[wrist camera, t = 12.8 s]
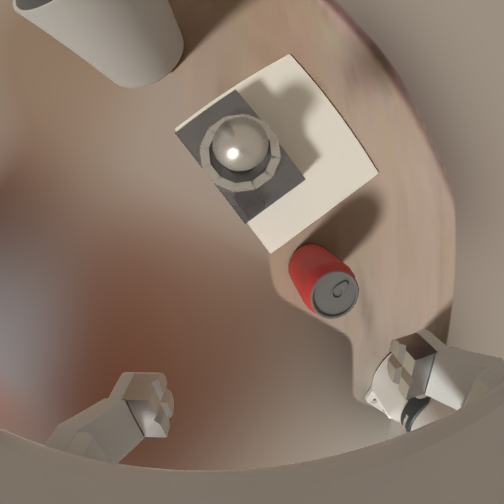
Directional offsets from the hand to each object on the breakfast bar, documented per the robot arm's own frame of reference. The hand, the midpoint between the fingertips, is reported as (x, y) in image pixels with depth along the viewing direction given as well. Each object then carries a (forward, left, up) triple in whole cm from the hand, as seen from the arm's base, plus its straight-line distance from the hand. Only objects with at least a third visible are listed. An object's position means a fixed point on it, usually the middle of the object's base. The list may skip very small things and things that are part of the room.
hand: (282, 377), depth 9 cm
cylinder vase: (+32, -4, -31) cm, 45 cm away
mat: (+7, -11, -31) cm, 34 cm away
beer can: (-9, -4, -31) cm, 33 cm away
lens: (+9, -5, -26) cm, 28 cm away
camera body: (+9, -5, -31) cm, 32 cm away
